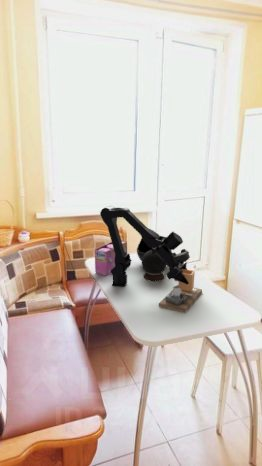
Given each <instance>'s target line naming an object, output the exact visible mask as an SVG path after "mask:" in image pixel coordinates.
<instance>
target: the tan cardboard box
mask: <svg viewBox="0 0 262 466" xmlns="http://www.w3.org/2000/svg"><path fill="white" fill-rule="evenodd" d="M181 270H182V269H181ZM195 274H196V273H195V270H194V269H187V270H186V269H183V275H184V276H185V278H186V279H187V281H188V282H189V284H185V283H183V282H180V281H178V285H179V287H180V290H184V291H192V289H193V288H195V287H194V286H195Z"/></svg>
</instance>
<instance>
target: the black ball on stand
mask: <svg viewBox="0 0 262 466" xmlns="http://www.w3.org/2000/svg"><path fill="white" fill-rule="evenodd" d="M163 262H164V261H163V260H162V259H161V258H160V257H159V256H158V254H157V253H154V254H153V255H152V250H150V251H147V252H146V253H145V254H144V256H143V257H142V261H141V267H142V269H143V271H145V272H144V274H143V276H142V277H143V279H144V280H146V281H148V282H160V281H163V280H165V274H164V273H163V272H164V271H165V270H166V268H167V265H166V264H163Z"/></svg>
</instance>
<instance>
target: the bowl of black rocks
mask: <svg viewBox="0 0 262 466" xmlns="http://www.w3.org/2000/svg"><path fill="white" fill-rule="evenodd" d="M163 244H164V242H163V243H162V244H161V245H163ZM157 246H158V245H156V246H155V247H148V246H147V245H146V244H145V242H144V241H143V239H142V237H141V239H140V241H139V243H138V245H137V248H136V255H137V257H138V258H139V260H140V262H142V257H143V256H144V254H145V253H146V252H147V251H150V250H152V248H156V247H157ZM170 251H171V252H172V253H173V250H172V249H171V250H170Z"/></svg>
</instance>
